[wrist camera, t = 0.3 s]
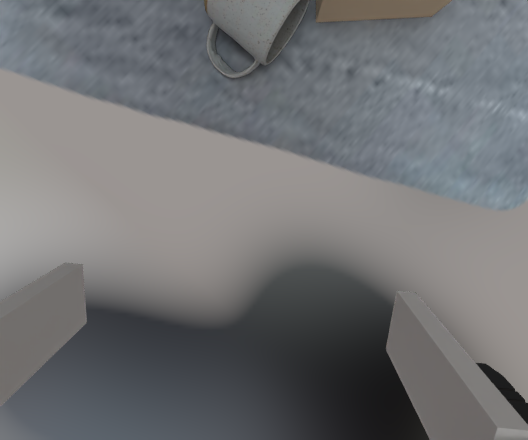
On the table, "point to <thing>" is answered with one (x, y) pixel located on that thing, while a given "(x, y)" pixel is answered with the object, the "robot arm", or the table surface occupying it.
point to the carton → (375, 9)
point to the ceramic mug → (253, 28)
